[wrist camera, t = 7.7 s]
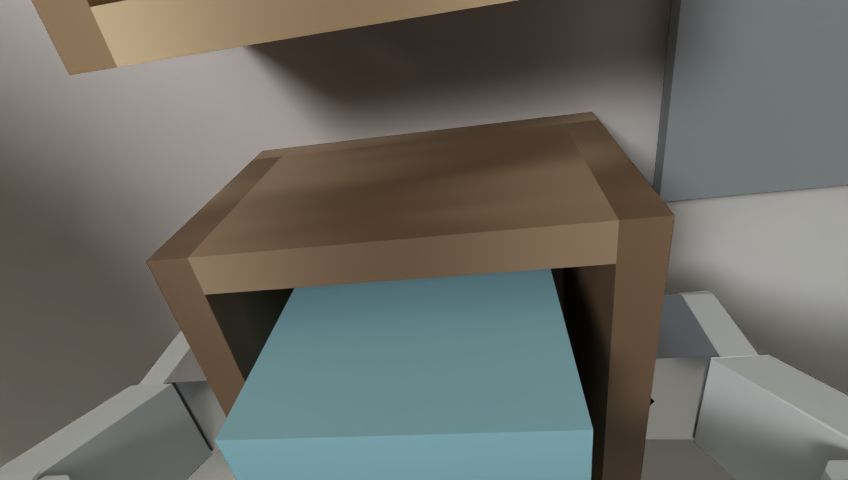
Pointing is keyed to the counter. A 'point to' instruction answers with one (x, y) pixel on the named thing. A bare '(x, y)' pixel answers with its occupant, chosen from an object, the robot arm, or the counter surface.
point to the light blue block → (415, 385)
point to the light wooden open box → (206, 25)
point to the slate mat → (753, 98)
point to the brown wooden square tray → (440, 248)
